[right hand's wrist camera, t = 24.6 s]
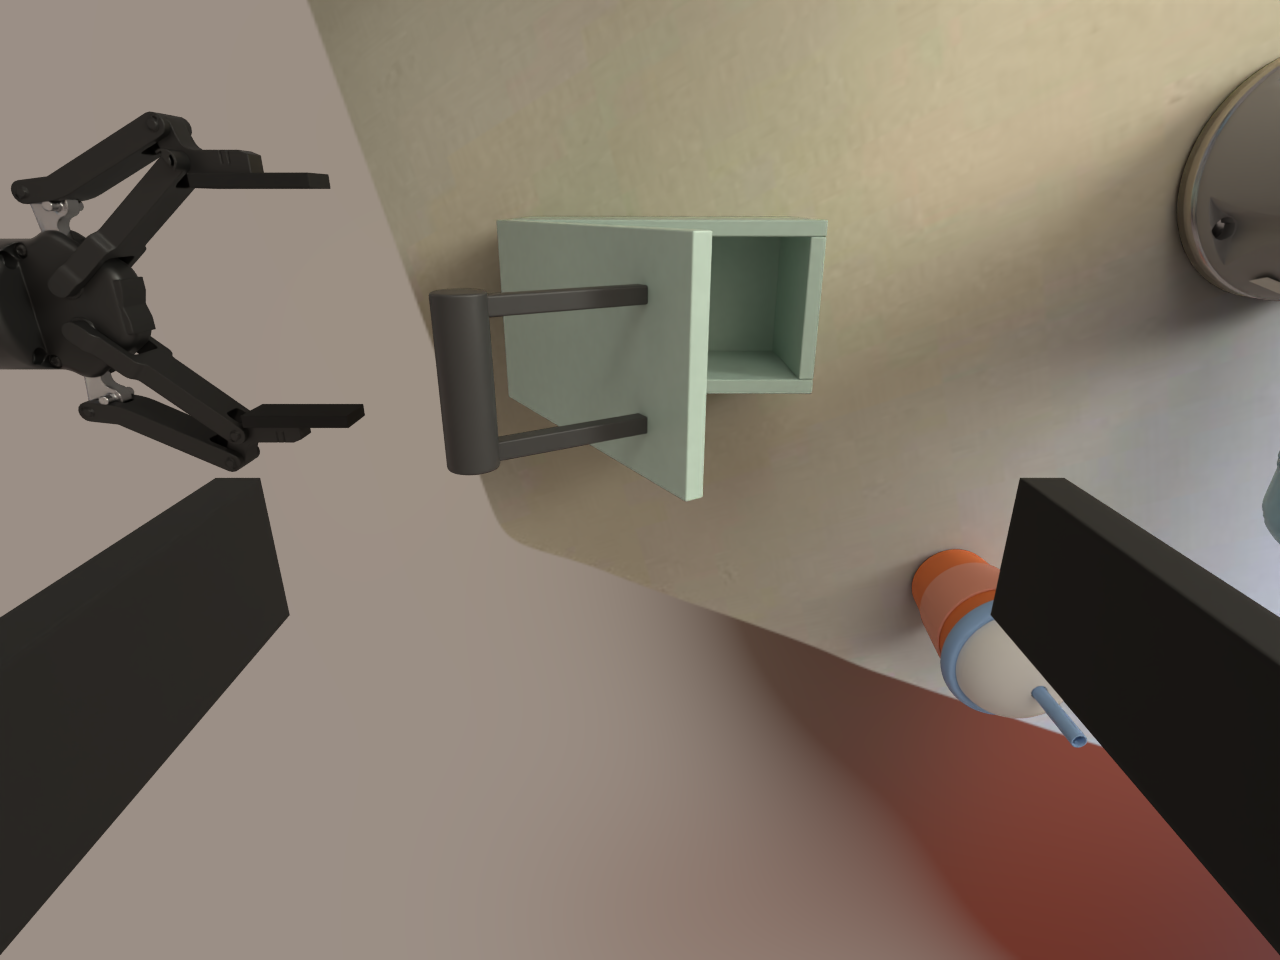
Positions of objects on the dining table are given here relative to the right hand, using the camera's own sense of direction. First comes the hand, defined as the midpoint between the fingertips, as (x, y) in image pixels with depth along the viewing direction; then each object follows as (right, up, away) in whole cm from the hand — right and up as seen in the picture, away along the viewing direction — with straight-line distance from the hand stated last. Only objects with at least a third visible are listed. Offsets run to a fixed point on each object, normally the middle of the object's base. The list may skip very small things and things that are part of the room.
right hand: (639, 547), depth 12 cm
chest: (+1, +14, +36) cm, 39 cm away
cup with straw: (+25, -7, +44) cm, 51 cm away
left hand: (-18, +12, +29) cm, 36 cm away
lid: (-2, +8, +20) cm, 21 cm away
